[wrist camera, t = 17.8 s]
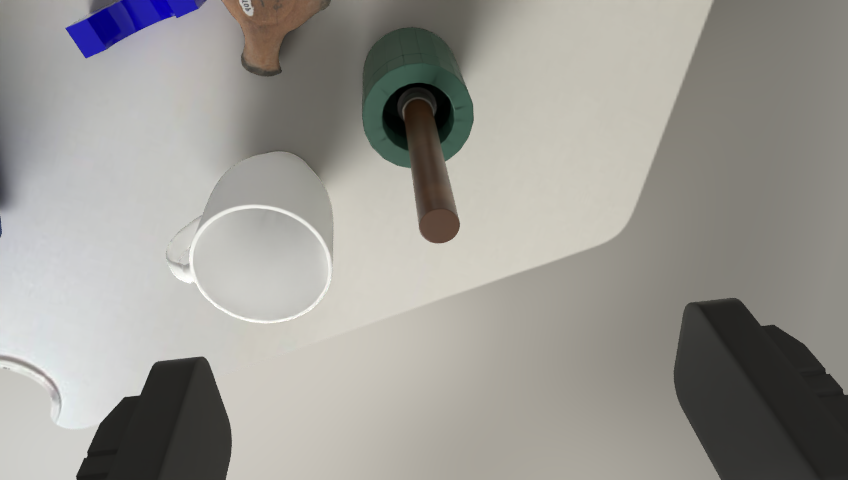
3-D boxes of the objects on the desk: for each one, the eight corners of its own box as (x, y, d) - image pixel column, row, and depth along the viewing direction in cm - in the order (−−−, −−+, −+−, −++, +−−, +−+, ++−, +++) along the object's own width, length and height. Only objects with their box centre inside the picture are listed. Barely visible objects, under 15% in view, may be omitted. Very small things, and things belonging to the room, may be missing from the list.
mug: (314, 113, 48) (300, 188, 38) (355, 212, 52) (352, 302, 42) (168, 159, 49) (116, 244, 39) (221, 252, 54) (186, 349, 43)
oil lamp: (182, -14, 43) (269, 76, 47) (160, 6, 40) (255, 101, 44) (273, -105, 40) (360, 0, 43) (257, -91, 36) (352, 21, 40)
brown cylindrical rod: (428, 57, 46) (467, 197, 28) (430, 93, 47) (469, 247, 29) (391, 61, 46) (407, 203, 28) (395, 96, 47) (412, 254, 29)
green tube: (454, 22, 45) (471, 57, 38) (459, 114, 49) (475, 162, 42) (357, 32, 45) (355, 69, 38) (369, 124, 49) (370, 174, 41)
